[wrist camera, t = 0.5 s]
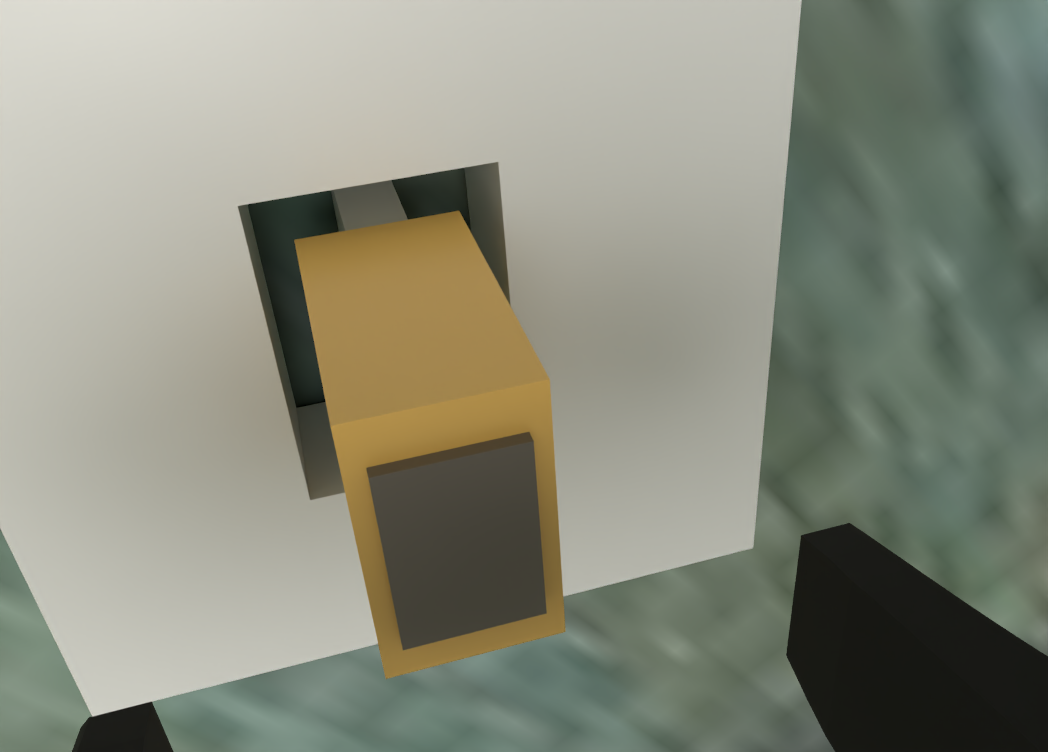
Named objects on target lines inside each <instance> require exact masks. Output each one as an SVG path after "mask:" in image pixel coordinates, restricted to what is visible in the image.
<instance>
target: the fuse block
mask: <svg viewBox="0 0 1048 752" xmlns="http://www.w3.org/2000/svg"><path fill="white" fill-rule="evenodd" d="M801 1H802V0H0V529H1V531H2V533H3V535H4V537H5V539H6V541H7V543H8V545H9V547H10V549H11V551H12V553H13V555H14V557H15V559H16V561H17V563H18V566H19V568H20V570H21V572H22V574H23V576H24V578H25V580H26V582H27V584H28V586H29V588H30V590H31V592H32V594H33V596H34V598H35V600H36V602H37V604H38V606H39V608H40V610H41V613H42V615H43V617H44V619H45V621H46V623H47V625H48V627H49V629H50V631H51V633H52V635H53V637H54V639H55V641H56V643H57V645H58V647H59V649H60V651H61V653H62V655H63V657H64V659H65V662H66V664H67V666H68V668H69V670H70V672H71V674H72V676H73V678H74V680H75V682H76V684H77V686H78V688H79V690H80V692H81V694H82V696H83V698H84V700H85V702H86V704H87V706H88V709H89V711H90V713H91V715H92V717H93V716H97V715H101V714H104V713H108V712H112V711H116V710H120V709H124V708H128V707H132V706H136V705H140V704H144V703H148V702H151V701H156V700H160V699H163V698H167V697H171V696H175V695H179V694H183V693H187V692H191V691H195V690H199V689H203V688H207V687H210V686H214V685H218V684H222V683H226V682H230V681H234V680H238V679H242V678H246V677H250V676H254V675H257V674H261V673H265V672H269V671H273V670H277V669H281V668H285V667H289V666H293V665H297V664H301V663H305V662H308V661H312V660H316V659H320V658H324V657H328V656H332V655H336V654H340V653H344V652H348V651H352V650H355V649H359V648H363V647H367V646H371V645H375V644H378V641H377V636H376V632H375V627H374V622H373V618H372V613H371V609H370V604H369V600H368V595H367V591H366V586H365V581H364V577H363V572H362V568H361V563H360V559H359V554H358V550H357V545H356V540H355V536H354V531H353V527H352V522H351V518H350V513H349V509H348V504H347V499H346V495H345V490H344V486H343V481H342V477H341V472H340V468H339V463H338V458H337V454H336V449H335V445H334V440H333V436H332V431H331V427H330V422H329V416H328V411H327V406H326V402H323V403H318V404H313V405H308V406H303V407H299V408H296V404H295V400H294V396H293V392H292V388H291V384H290V379H289V375H288V371H287V367H286V363H285V359H284V354H283V350H282V346H281V342H280V338H279V334H278V329H277V325H276V321H275V317H274V313H273V309H272V305H271V300H270V296H269V292H268V288H267V284H266V280H265V275H264V271H263V267H262V263H261V259H260V255H259V251H258V246H257V242H256V238H255V234H254V230H253V226H252V221H251V217H250V213H249V209H248V205H247V204H252V203H258V202H264V201H270V200H276V199H282V198H287V197H293V196H299V195H305V194H311V193H317V192H323V191H329V190H335V189H341V188H347V187H352V186H358V185H364V184H370V183H376V182H382V181H388V180H394V179H400V178H406V177H412V176H417V175H423V174H429V173H435V172H441V171H447V170H453V169H459V168H464V170H465V179H466V189H467V198H468V208H469V217H470V227H471V234H472V235H473V237H474V239H475V241H476V243H477V245H478V247H479V249H480V250H481V252H482V254H483V256H484V258H485V260H486V262H487V263H488V265H489V267H490V269H491V271H492V273H493V275H494V276H495V278H496V280H497V282H498V284H499V286H500V288H501V289H502V291H503V293H504V295H505V297H506V299H507V301H508V302H509V304H510V306H511V308H512V310H513V312H514V314H515V315H516V317H517V319H518V321H519V323H520V325H521V327H522V328H523V330H524V332H525V334H526V336H527V338H528V340H529V341H530V343H531V345H532V347H533V349H534V351H535V353H536V355H537V356H538V358H539V360H540V362H541V364H542V366H543V368H544V369H545V371H546V373H547V375H548V377H549V379H550V390H551V406H552V423H553V439H554V455H555V471H556V487H557V504H558V520H559V536H560V552H561V569H562V585H563V596H567V595H571V594H575V593H579V592H583V591H587V590H591V589H594V588H598V587H602V586H606V585H610V584H614V583H618V582H622V581H626V580H630V579H634V578H638V577H641V576H645V575H649V574H653V573H657V572H661V571H665V570H669V569H673V568H677V567H681V566H685V565H688V564H692V563H696V562H700V561H704V560H708V559H712V558H716V557H720V556H724V555H728V554H732V553H735V552H739V551H743V550H747V549H751V548H753V544H754V533H755V521H756V510H757V499H758V487H759V476H760V465H761V453H762V442H763V431H764V419H765V408H766V397H767V386H768V374H769V363H770V352H771V340H772V329H773V318H774V306H775V295H776V284H777V272H778V261H779V250H780V238H781V227H782V216H783V204H784V193H785V182H786V171H787V159H788V148H789V137H790V125H791V114H792V103H793V91H794V80H795V69H796V57H797V46H798V35H799V23H800V12H801Z"/></svg>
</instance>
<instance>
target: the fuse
mask: <svg viewBox="0 0 1048 752" xmlns="http://www.w3.org/2000/svg"><path fill="white" fill-rule="evenodd" d="M331 194H332V199H333V205H334V210H335V215H336V221H337V226H338V230H339V232H335V233H330V234H324V235H319V236H313V237H307V238H302V239H296V240H294V241H295V247H296V252H297V257H298V262H299V267H300V272H301V277H302V283H303V288H304V293H305V298H306V303H307V308H308V313H309V319H310V324H311V329H312V334H313V339H314V344H315V349H316V355H317V360H318V365H319V370H320V375H321V380H322V385H323V391H324V396H325V401H326V406H327V411H328V416H329V422H330V427H331V431H332V436H333V440H334V445H335V449H336V454H337V458H338V463H339V468H340V472H341V477H342V481H343V486H344V490H345V495H346V499H347V504H348V509H349V513H350V518H351V522H352V527H353V531H354V536H355V540H356V545H357V550H358V554H359V559H360V563H361V568H362V572H363V577H364V581H365V586H366V591H367V595H368V600H369V604H370V609H371V613H372V618H373V622H374V627H375V632H376V636H377V641H378V645H379V650H380V654H381V659H382V663H383V668H384V673H385V677H386V679H387V678H391V677H395V676H399V675H403V674H406V673H410V672H414V671H418V670H422V669H426V668H429V667H433V666H437V665H441V664H445V663H448V662H452V661H456V660H460V659H464V658H468V657H471V656H475V655H479V654H483V653H487V652H490V651H494V650H498V649H502V648H506V647H509V646H513V645H517V644H521V643H525V642H529V641H532V640H536V639H540V638H544V637H548V636H551V635H555V634H559V633H563V632H565V617H564V601H563V585H562V569H561V552H560V536H559V520H558V504H557V487H556V471H555V455H554V439H553V423H552V406H551V390H550V379H549V377H548V375H547V373H546V371H545V369H544V368H543V366H542V364H541V362H540V360H539V358H538V356H537V355H536V353H535V351H534V349H533V347H532V345H531V343H530V341H529V340H528V338H527V336H526V334H525V332H524V330H523V328H522V327H521V325H520V323H519V321H518V319H517V317H516V315H515V314H514V312H513V310H512V308H511V306H510V304H509V302H508V301H507V299H506V297H505V295H504V293H503V291H502V289H501V288H500V286H499V284H498V282H497V280H496V278H495V276H494V275H493V273H492V271H491V269H490V267H489V265H488V263H487V262H486V260H485V258H484V256H483V254H482V252H481V250H480V249H479V247H478V245H477V243H476V241H475V239H474V237H473V235H472V234H471V232H470V230H469V228H468V226H467V224H466V222H465V221H464V219H463V217H462V215H461V213H460V211H454V212H448V213H443V214H437V215H431V216H426V217H420V218H414V219H409V220H408V219H407V216H406V214H405V212H404V209H403V207H402V205H401V202H400V200H399V198H398V195H397V193H396V191H395V188H394V186H393V184H392V181H391V180H388V181H382V182H376V183H370V184H364V185H358V186H352V187H347V188H341V189H335V190H331Z"/></svg>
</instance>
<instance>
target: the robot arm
mask: <svg viewBox="0 0 1048 752" xmlns="http://www.w3.org/2000/svg"><path fill="white" fill-rule="evenodd" d="M786 655H787V658H788V660H789V662H790V664H791V666H792V668H793V670H794V672H795V675H796V677H797V679H798V681H799V683H800V685H801V687H802V689H803V692H804V694H805V696H806V698H807V700H808V702H809V704H810V706H811V708H812V710H813V712H814V714H815V716H816V718H817V720H818V722H819V724H820V726H821V728H822V730H823V732H824V734H825V736H826V737H827V739H828V741H829V742H830V744H831V745H832V747H833V749H834V750H835V752H1048V656H1046V655H1045V654H1043V653H1041V652H1040V651H1038V650H1037V649H1035V648H1034V647H1032V646H1030V645H1029V644H1027V643H1026V642H1024V641H1023V640H1021V639H1020V638H1018V637H1016V636H1015V635H1013V634H1012V633H1010V632H1009V631H1007V630H1006V629H1004V628H1003V627H1001V626H1000V625H998V624H997V623H995V622H994V621H992V620H991V619H989V618H988V617H986V616H985V615H983V614H982V613H980V612H979V611H977V610H976V609H974V608H973V607H971V606H970V605H968V604H967V603H965V602H964V601H962V600H961V599H959V598H958V597H956V596H955V595H954V594H952V593H951V592H949V591H948V590H946V589H945V588H943V587H942V586H940V585H939V584H937V583H936V582H935V581H933V580H932V579H930V578H929V577H927V576H926V575H924V574H923V573H921V572H920V571H919V570H917V569H916V568H914V567H913V566H911V565H910V564H909V563H907V562H906V561H904V560H903V559H901V558H900V557H898V556H897V555H896V554H894V553H893V552H891V551H890V550H888V549H887V548H886V547H884V546H883V545H881V544H880V543H878V542H877V541H875V540H874V539H872V538H871V537H870V536H868V535H867V534H865V533H864V532H862V531H861V530H859V529H858V528H856V527H855V526H853V525H852V524H850V523H848V524H844V525H840V526H836V527H832V528H828V529H824V530H820V531H816V532H812V533H809V534H805V535H801V542H800V550H799V558H798V566H797V574H796V582H795V590H794V598H793V606H792V614H791V622H790V630H789V638H788V646H787V654H786ZM72 752H173V750H172V748H171V745H170V743H169V741H168V738H167V736H166V734H165V731H164V729H163V727H162V724H161V722H160V720H159V717H158V715H157V713H156V710H155V708H154V706H153V703H152V701H151V702H148V703H144V704H140V705H136V706H132V707H128V708H124V709H120V710H116V711H112V712H108V713H104V714H101V715H97V716H93V717H89V718H88V719H87V721H86V722H85V723H84V724H83V726H82V727H81V729H80V731H79V734H78V737H77V739H76V742H75V745H74V748H73V750H72Z"/></svg>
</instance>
